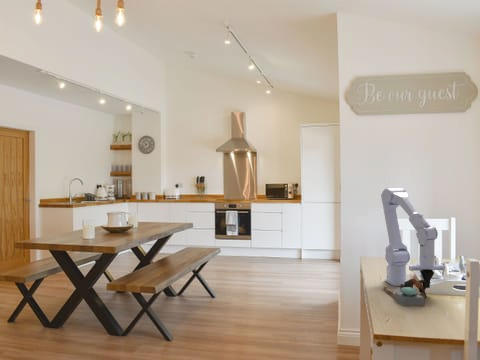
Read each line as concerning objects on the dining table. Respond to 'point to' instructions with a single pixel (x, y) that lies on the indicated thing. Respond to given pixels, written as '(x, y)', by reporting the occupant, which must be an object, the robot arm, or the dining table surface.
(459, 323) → the dining table surface
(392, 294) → the rail
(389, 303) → the dining table surface
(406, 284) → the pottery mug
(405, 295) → the dome box
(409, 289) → the dome button
